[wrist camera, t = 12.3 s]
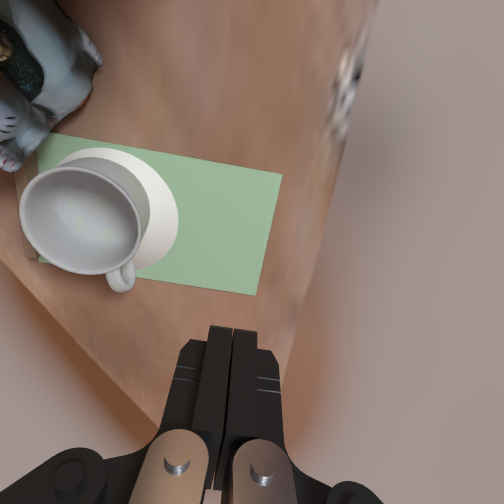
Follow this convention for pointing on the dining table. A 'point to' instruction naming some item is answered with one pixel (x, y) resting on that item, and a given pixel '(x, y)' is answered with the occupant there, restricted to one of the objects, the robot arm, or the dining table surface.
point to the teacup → (87, 218)
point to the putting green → (181, 212)
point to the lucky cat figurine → (39, 74)
